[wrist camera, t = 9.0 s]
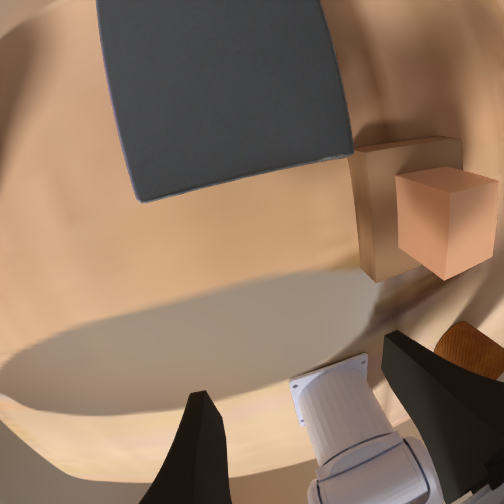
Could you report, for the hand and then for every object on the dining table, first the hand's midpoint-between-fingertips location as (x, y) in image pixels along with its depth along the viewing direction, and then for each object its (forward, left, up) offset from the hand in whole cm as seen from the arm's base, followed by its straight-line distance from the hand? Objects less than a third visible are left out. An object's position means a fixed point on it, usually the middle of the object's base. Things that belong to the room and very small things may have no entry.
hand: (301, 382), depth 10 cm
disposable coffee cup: (-18, -21, -11) cm, 30 cm away
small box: (+13, 0, -11) cm, 17 cm away
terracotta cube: (+2, -12, -8) cm, 15 cm away
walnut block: (+2, -12, -11) cm, 16 cm away
